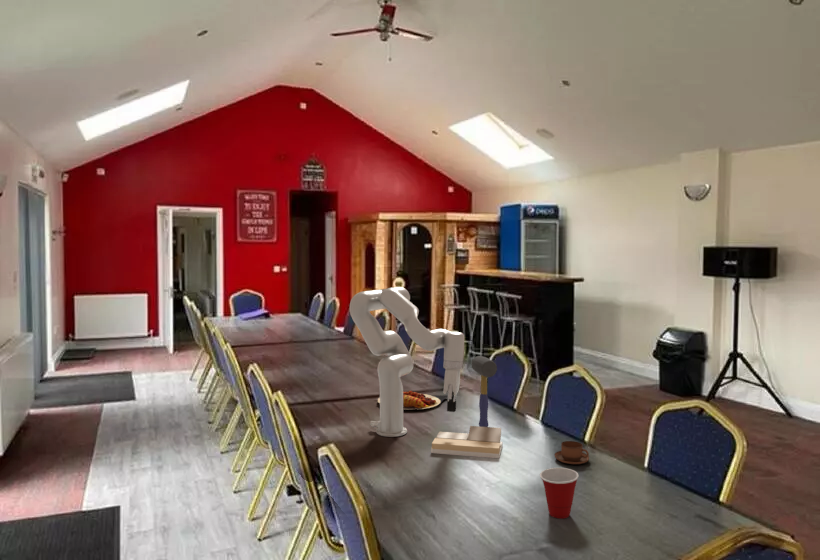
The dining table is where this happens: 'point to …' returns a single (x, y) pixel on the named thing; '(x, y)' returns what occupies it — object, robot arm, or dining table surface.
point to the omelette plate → (420, 400)
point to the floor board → (466, 448)
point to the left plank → (453, 435)
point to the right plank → (484, 434)
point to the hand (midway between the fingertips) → (451, 410)
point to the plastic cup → (559, 490)
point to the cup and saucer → (572, 453)
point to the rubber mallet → (484, 384)
